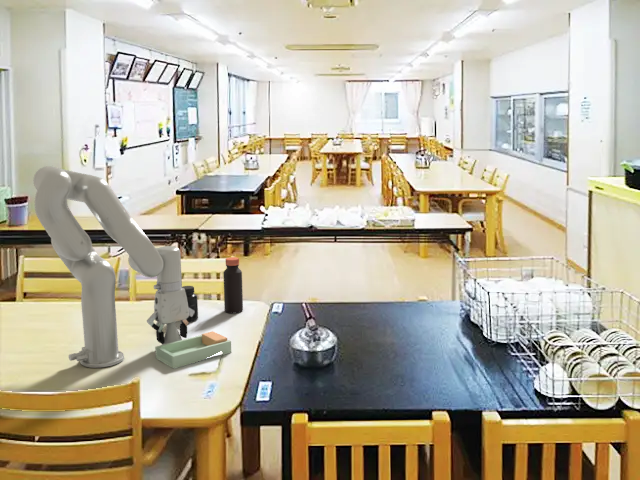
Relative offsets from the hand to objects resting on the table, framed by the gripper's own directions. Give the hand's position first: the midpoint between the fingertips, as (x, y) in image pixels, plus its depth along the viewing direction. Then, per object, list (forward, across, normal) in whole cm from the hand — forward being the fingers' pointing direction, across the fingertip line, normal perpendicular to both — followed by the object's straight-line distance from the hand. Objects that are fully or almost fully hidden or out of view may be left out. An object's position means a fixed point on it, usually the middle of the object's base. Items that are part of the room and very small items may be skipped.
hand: (172, 339), depth 218 cm
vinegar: (+3, +36, +19) cm, 41 cm away
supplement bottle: (+3, +18, +21) cm, 28 cm away
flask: (+3, 0, 0) cm, 3 cm away
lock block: (+1, +8, -11) cm, 14 cm away
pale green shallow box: (+2, +1, -12) cm, 12 cm away
